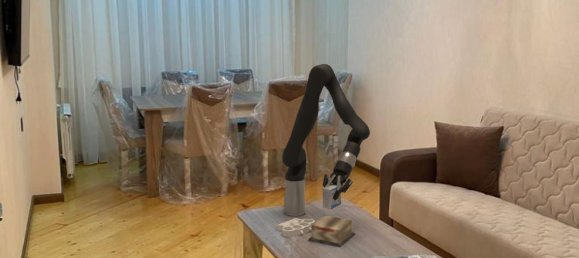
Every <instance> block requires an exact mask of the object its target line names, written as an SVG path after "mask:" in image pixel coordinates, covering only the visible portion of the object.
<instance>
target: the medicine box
mask: <svg viewBox="0 0 579 258" xmlns="http://www.w3.org/2000/svg"><path fill="white" fill-rule="evenodd" d="M332 184H333V183H332ZM336 191H337V185H335V184H333V185H330V186H328V187H325V188H324V187H323V188H322V208H325V209H327V210H332V209H335V208H337V207H338V206H341V205H342V193H340V195H339V197H338V199H337V200H334V199H333V196H334V194H335V192H336Z"/></svg>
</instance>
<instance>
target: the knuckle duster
mask: <svg viewBox="0 0 579 258" xmlns="http://www.w3.org/2000/svg"><path fill="white" fill-rule="evenodd" d="M315 222H316V221H315V219H312V218H304V219H302V218H298V217H294V218H292V219H290V220H286V221H284V222H282V223H278V224H276V225H275V229H276V230H277V231H279V232H282V233H281V234H282V237H285V238H293V237H297V236H302V235H305V234H307V233H310V232H312V224H314V223H315Z"/></svg>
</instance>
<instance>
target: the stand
mask: <svg viewBox="0 0 579 258" xmlns="http://www.w3.org/2000/svg"><path fill="white" fill-rule="evenodd" d="M352 226H353V220H352V219H348V218H342V217H336V216H331V215H323V216H322V217H321V218H319V219H318V220H316V221H315V223H314V224H312V230H311V236H310V237H308V242H314V243H318V244H321V245H322V244H324V245H328V246H333V247H338V248H342V247H343V246H344V245H345V244H346V243H347V242H348V241H350V240H351V239H352V238H353V237H354V236H355V235H356V233H355V232H353V227H352Z"/></svg>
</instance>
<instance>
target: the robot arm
mask: <svg viewBox="0 0 579 258" xmlns="http://www.w3.org/2000/svg"><path fill="white" fill-rule="evenodd" d="M305 87H306V88H305V91H304V94H303V97H302V100H301V102H300V105H299V107H298V111H297V114H296V117H295V120H294V123H293V126H292V129H291V132H290V136H289V138H288V141H287V142H286V145H285V147H284V150H283V152H282V155H281V157H282V159H281V160H282V163H283V164H284V165H285V167H287V171H286V172H285V176H284V179H285V183H284V185H285V193H284V194H283V210H284V213H283V214H285V215H288V216H290V217H299V216H303V215H304V214H306V202H305V201H306V191H305V187H306V185H305V182H306V180H305V177H306V174H307V152H306V150H305V148H304V146H303V145H304V143H305V141H306V140H307V138H308V136H309V135H310V134H311V132H312V131H313V129H314V127H315V125H316V122H317V120H318V116H319V112H320V110H319V109H320V106H319V105H320V97H321V94H322V91H323V89H324V87H325V89H326V90H327V92H328V93H329V96H330V97H331V100H332V103H333V107H334V109H335V112H336V113H337V115H338V116H339V118H340V119H341V121H342V122H343V124H344V125H346V126H350V128H352V129H351V130H350V132H349V133H348V136H347V139H346V143H345V145H344V148H343V150H342V151H341V153H340V155H339V156H338V159H337V161H336V163H335V165H334V167H333V169H332V172H331V174H327V173H325V174H324V176H323V181H322V187H323V188H325V187H328V186H330V185H333V184H335V185H337V191H336V192H335V194H334V196H333V199H334V200H337V199H338V197H339V195H340V193H341V194H342V193H344V194H345V193H346V192H347V191H348V189H349V188H351V186H352V185H353V183H354V182H353V180H351V179H350V178H349V177H350V176H351V173H352V172H353V169H354V167H355V164H356V161H357V159H358V158H359V154H360V153H361V145H362V142H364V141H365V140H367V139H368V138H369V137H370V134H371V130H370V128H369V126H368V124H367V123H366V122H365V121H364V120H363V119H362V118H361V117H360V116H359V115H358V114H357V112H356V111H355V109H354V108H353V106H352V105H351V103H350V101H349V100H348V98H347V96H346V95H345V93H344V91H343V88H342V86H341V84H340V83H339V81H338V77H337V75H336V73H335V71H334V69H333V68H332V66H331V65H329V64H328V63H321V64H317V65H315V66H313V67H312V68H311V69H310V71H309V74H308V78H307V83H306V86H305Z"/></svg>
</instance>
